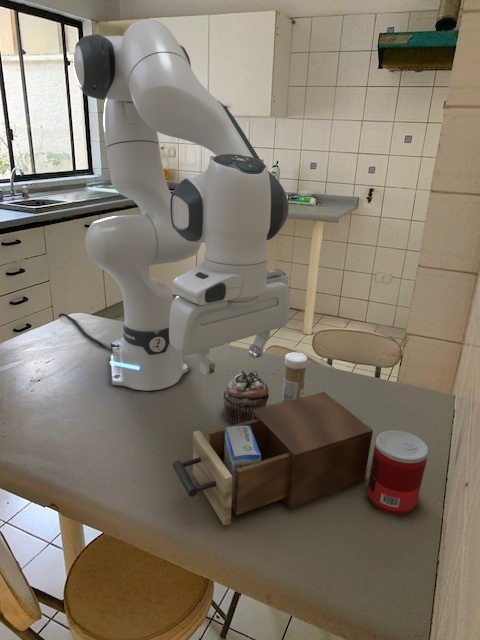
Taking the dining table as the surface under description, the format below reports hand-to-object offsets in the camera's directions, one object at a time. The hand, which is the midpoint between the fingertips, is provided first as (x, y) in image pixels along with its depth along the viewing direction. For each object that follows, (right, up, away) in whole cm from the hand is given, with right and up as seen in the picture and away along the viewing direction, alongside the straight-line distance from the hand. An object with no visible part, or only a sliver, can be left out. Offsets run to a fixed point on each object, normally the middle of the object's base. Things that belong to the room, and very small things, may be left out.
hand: (232, 364), depth 71 cm
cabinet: (+13, -20, +13) cm, 27 cm away
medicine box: (+1, -20, +6) cm, 21 cm away
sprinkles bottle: (+12, -13, +30) cm, 35 cm away
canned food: (+26, -23, +7) cm, 36 cm away
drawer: (0, -21, +6) cm, 22 cm away
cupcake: (+2, -14, +28) cm, 31 cm away
